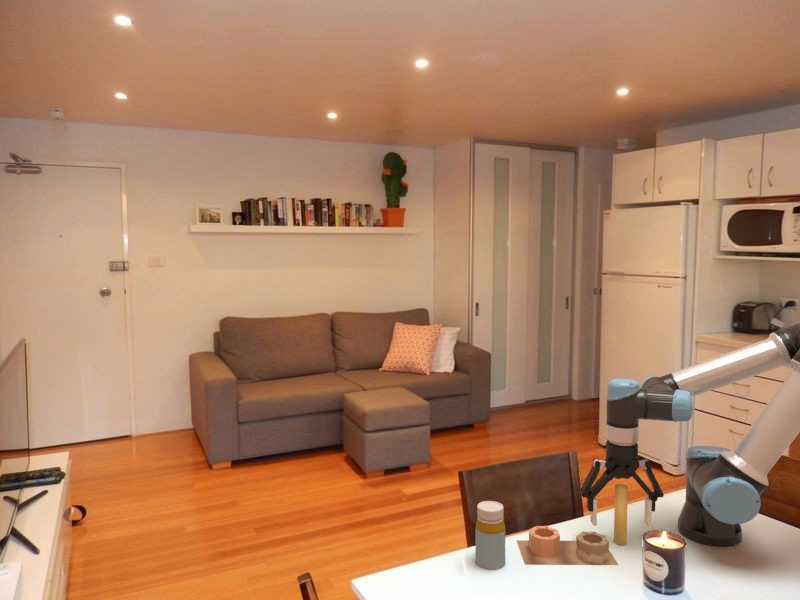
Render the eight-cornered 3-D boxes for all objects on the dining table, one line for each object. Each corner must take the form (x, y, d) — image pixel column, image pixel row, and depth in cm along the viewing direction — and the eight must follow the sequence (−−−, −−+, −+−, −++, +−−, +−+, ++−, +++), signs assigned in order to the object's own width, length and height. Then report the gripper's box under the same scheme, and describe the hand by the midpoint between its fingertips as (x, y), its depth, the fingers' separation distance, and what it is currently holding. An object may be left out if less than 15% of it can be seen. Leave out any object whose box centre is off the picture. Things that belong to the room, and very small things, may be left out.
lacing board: (603, 545, 153) (603, 540, 153) (618, 569, 142) (618, 564, 141) (516, 544, 154) (516, 540, 154) (524, 569, 142) (524, 564, 142)
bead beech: (602, 549, 149) (602, 531, 149) (611, 563, 142) (611, 545, 142) (574, 549, 149) (574, 531, 149) (581, 563, 142) (581, 545, 142)
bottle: (507, 562, 146) (507, 502, 145) (502, 576, 139) (502, 514, 138) (478, 557, 148) (478, 498, 147) (472, 572, 141) (472, 510, 140)
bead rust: (555, 543, 152) (555, 526, 152) (561, 557, 145) (561, 539, 145) (527, 543, 153) (527, 526, 152) (532, 557, 146) (532, 539, 145)
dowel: (624, 544, 154) (625, 483, 153) (628, 550, 151) (629, 488, 150) (612, 544, 154) (613, 483, 153) (616, 550, 151) (617, 488, 150)
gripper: (666, 436, 154) (664, 517, 155) (568, 436, 154) (567, 516, 156) (678, 445, 146) (676, 530, 148) (575, 446, 147) (574, 529, 149)
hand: (620, 523), depth 152 cm, fingers open, 13 cm apart
